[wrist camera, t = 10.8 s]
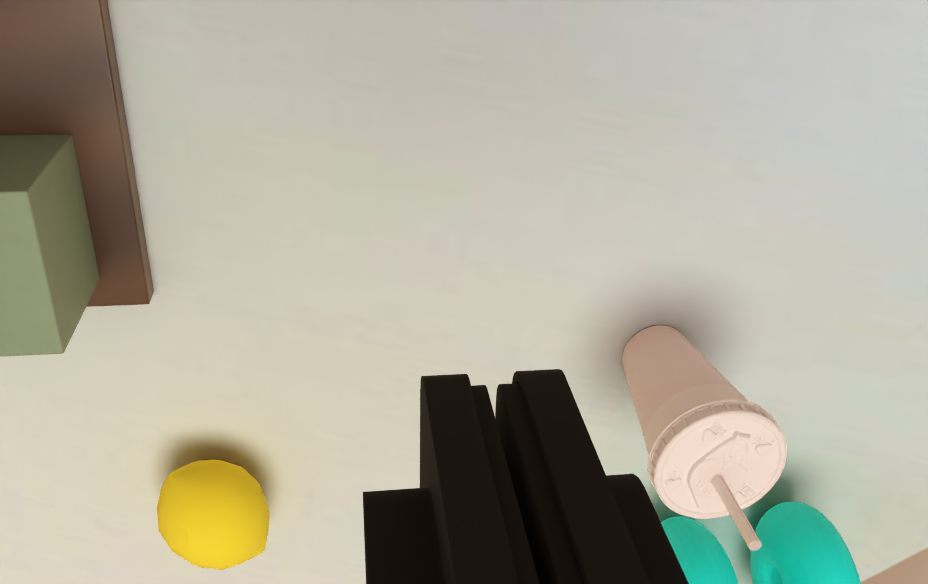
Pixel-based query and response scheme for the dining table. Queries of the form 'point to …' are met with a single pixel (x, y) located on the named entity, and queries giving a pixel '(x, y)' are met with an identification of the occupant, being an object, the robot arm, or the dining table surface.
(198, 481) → the lemon
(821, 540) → the donuts
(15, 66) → the board
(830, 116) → the dining table surface
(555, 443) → the robot arm
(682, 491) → the smoothie
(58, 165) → the block
